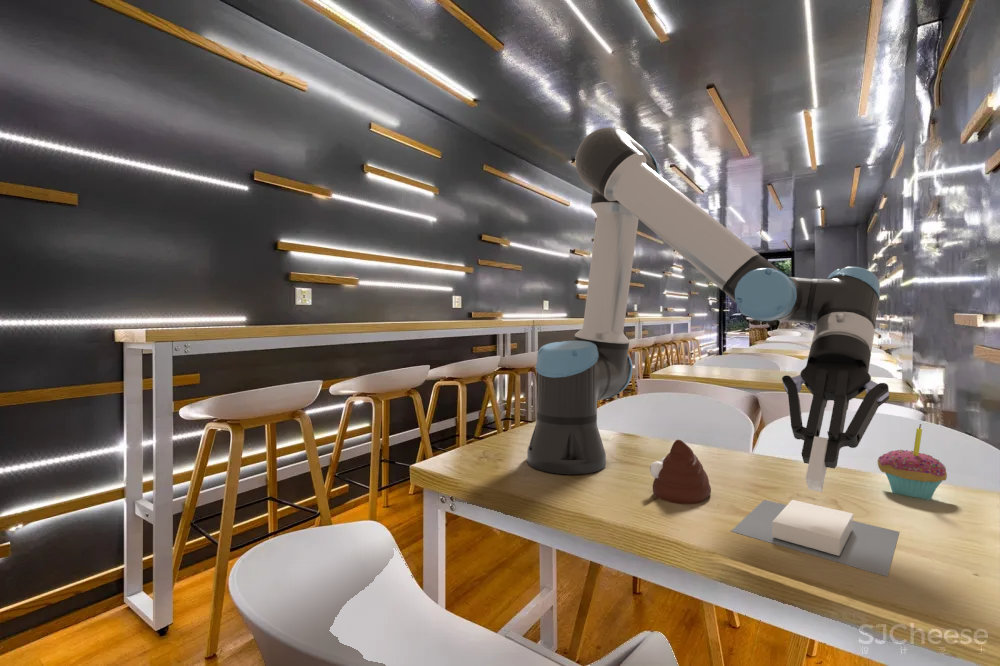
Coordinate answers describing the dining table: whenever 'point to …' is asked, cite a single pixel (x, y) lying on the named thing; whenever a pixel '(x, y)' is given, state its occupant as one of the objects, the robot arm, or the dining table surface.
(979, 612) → the dining table surface
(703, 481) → the poop emoji
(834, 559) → the slate board
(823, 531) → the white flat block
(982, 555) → the dining table surface
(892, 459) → the cupcake
